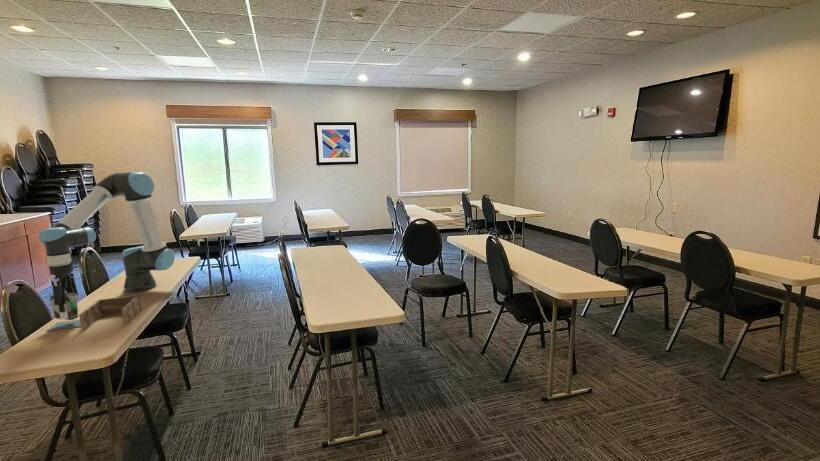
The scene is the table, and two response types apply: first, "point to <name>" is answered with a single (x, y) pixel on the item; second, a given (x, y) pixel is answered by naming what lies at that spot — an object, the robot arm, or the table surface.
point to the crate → (111, 309)
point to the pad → (65, 325)
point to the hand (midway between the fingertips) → (69, 315)
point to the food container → (71, 306)
